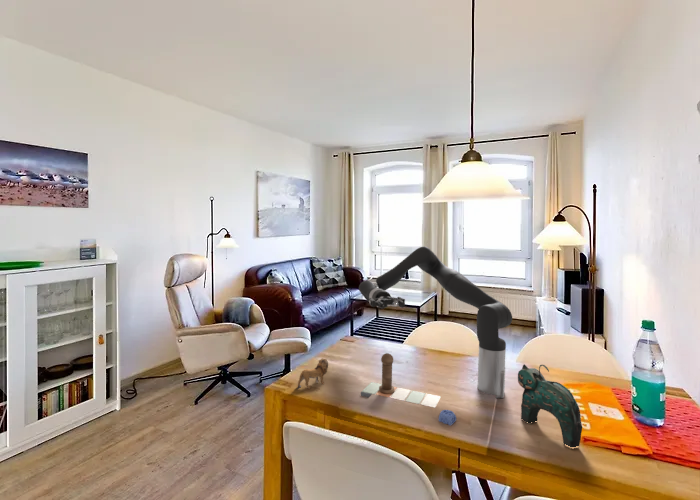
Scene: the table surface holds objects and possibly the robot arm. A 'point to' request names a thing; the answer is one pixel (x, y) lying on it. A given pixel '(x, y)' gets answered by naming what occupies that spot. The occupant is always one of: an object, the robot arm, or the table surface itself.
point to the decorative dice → (447, 417)
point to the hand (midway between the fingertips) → (393, 305)
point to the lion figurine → (314, 373)
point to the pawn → (386, 374)
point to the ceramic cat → (550, 403)
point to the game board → (403, 395)
